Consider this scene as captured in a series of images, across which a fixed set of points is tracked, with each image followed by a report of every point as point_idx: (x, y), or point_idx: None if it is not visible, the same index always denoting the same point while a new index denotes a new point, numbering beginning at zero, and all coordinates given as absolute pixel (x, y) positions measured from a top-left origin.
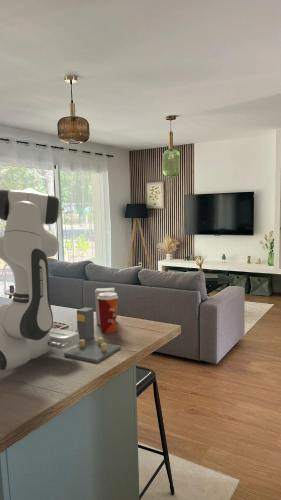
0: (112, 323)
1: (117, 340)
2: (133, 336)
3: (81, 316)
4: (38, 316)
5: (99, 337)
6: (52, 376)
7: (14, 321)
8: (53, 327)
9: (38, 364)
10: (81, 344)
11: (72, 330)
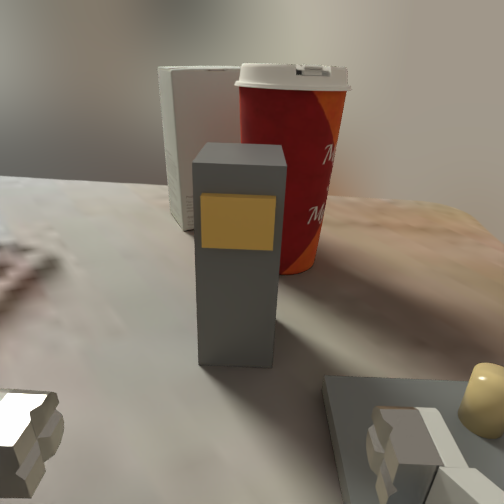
0: (320, 225)
1: (421, 318)
2: (429, 273)
3: (249, 212)
4: None
5: (478, 371)
6: None
7: None
8: (18, 447)
9: None
10: None
11: (418, 468)
